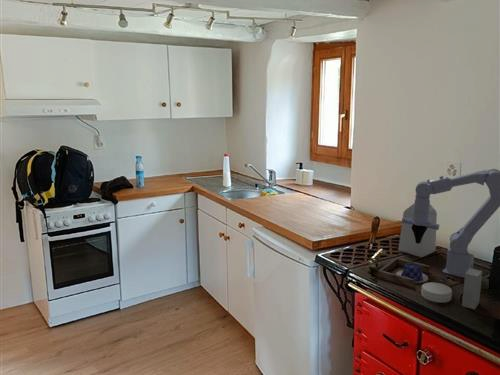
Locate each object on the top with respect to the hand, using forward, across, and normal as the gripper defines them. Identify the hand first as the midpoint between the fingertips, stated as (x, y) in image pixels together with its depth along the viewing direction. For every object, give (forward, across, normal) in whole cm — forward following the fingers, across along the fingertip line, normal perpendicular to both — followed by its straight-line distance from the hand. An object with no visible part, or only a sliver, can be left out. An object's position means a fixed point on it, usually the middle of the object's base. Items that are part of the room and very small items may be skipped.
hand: (418, 242), depth 178 cm
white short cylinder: (+11, +16, -23) cm, 30 cm away
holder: (+10, -2, -12) cm, 16 cm away
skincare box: (+10, +26, -22) cm, 36 cm away
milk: (+11, -6, +19) cm, 23 cm away
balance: (+11, -12, -11) cm, 20 cm away
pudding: (+11, +3, -12) cm, 17 cm away
